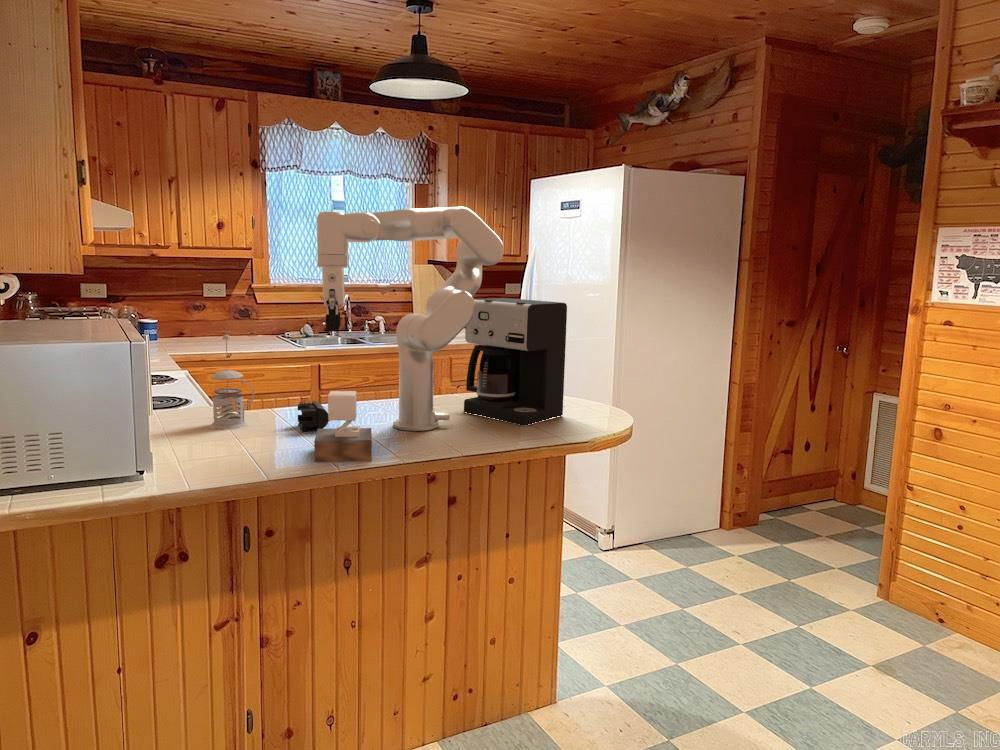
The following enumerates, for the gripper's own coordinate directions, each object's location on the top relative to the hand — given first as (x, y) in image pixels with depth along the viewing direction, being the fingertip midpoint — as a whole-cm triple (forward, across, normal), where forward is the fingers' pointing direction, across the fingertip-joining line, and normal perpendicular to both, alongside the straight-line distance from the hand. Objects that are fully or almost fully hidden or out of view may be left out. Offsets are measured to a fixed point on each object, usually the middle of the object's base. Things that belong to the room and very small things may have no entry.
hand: (333, 329), depth 192 cm
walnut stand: (+28, -18, -3) cm, 34 cm away
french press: (+28, +15, +28) cm, 43 cm away
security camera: (+24, -18, -3) cm, 30 cm away
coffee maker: (+29, +25, -51) cm, 64 cm away
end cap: (+29, +10, +6) cm, 31 cm away
